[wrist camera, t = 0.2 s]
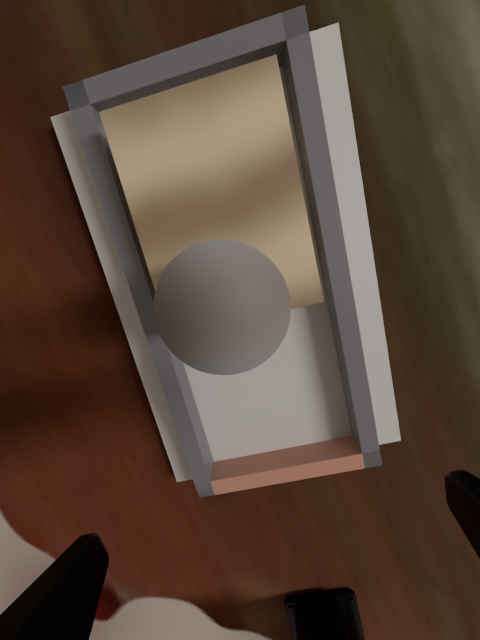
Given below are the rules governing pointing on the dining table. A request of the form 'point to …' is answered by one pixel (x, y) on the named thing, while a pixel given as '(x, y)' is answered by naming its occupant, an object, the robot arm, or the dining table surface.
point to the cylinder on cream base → (218, 214)
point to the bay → (305, 322)
